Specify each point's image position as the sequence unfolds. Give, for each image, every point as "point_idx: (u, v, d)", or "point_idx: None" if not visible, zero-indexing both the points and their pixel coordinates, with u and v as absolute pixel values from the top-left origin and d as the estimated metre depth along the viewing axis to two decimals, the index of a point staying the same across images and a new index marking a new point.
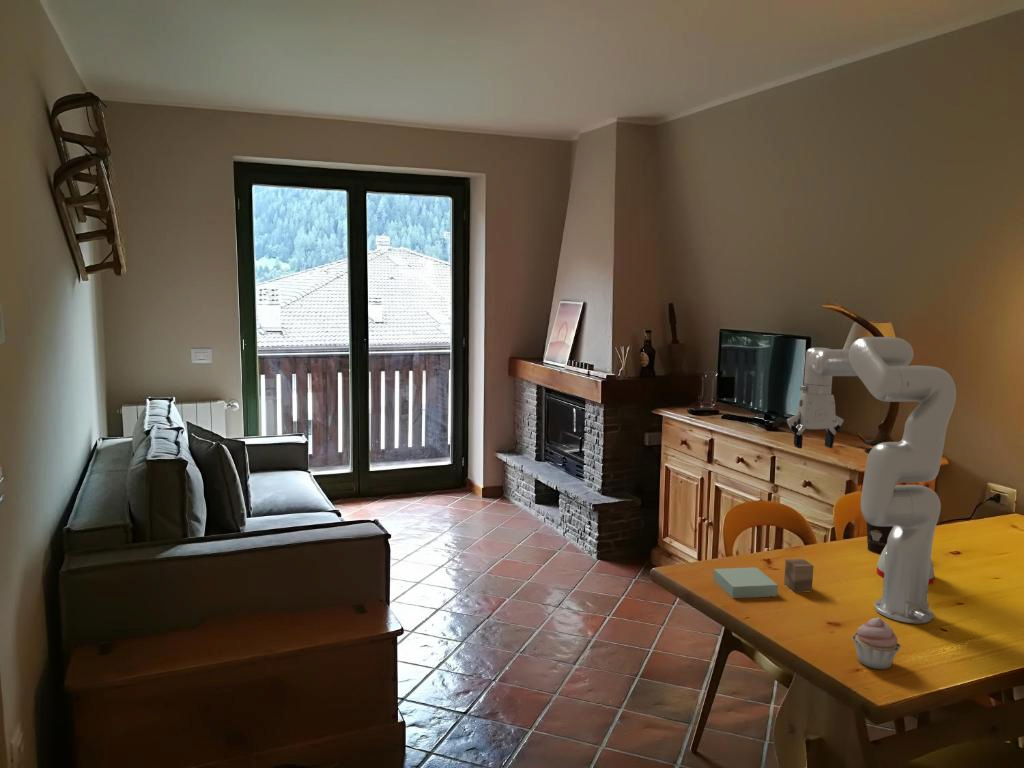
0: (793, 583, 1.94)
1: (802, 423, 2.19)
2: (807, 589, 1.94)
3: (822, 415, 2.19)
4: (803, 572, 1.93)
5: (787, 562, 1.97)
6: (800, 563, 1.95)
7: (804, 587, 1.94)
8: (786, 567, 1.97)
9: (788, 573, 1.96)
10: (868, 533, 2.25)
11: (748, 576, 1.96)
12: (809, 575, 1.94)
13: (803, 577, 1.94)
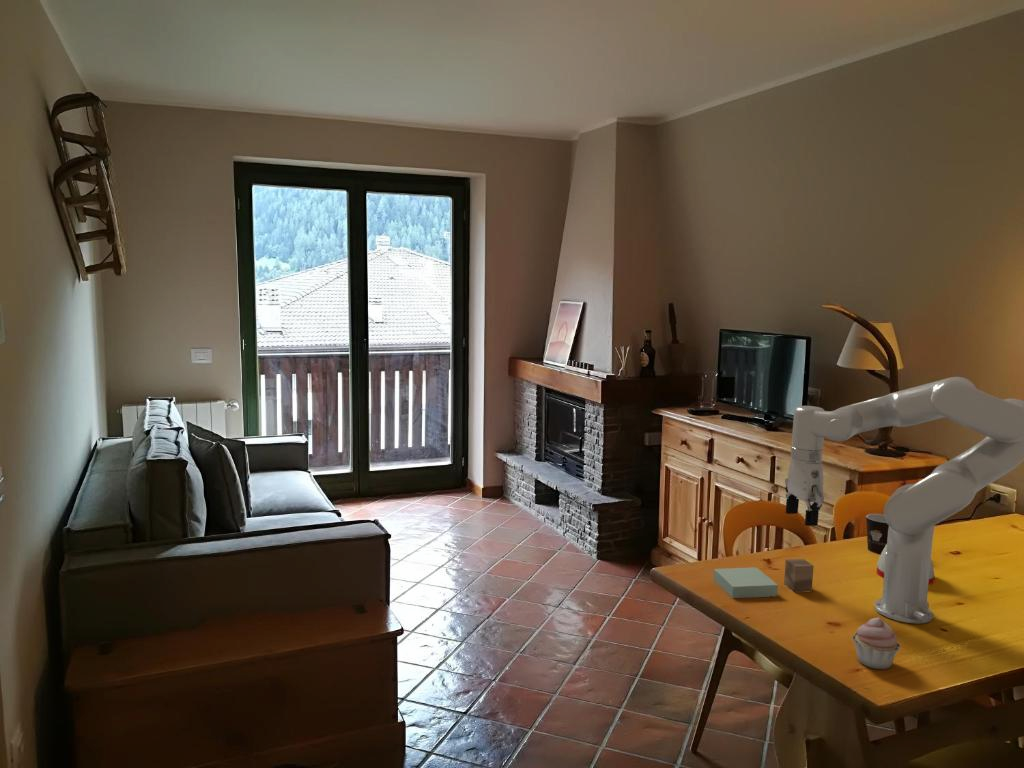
0: (793, 583, 1.94)
1: None
2: (807, 589, 1.94)
3: None
4: (803, 572, 1.93)
5: (787, 562, 1.97)
6: (800, 563, 1.95)
7: (804, 587, 1.94)
8: (786, 567, 1.97)
9: (788, 573, 1.96)
10: (868, 533, 2.25)
11: (748, 576, 1.96)
12: (809, 575, 1.94)
13: (803, 577, 1.94)
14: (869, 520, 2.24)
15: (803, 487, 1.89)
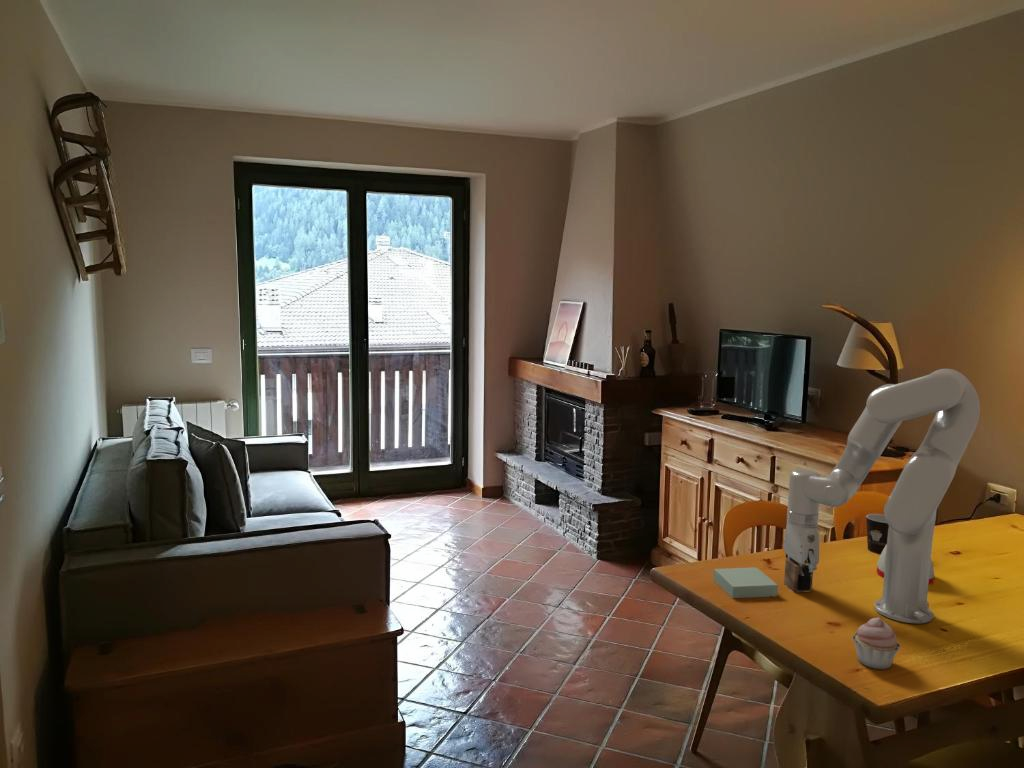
0: (793, 583, 1.94)
1: (816, 559, 1.91)
2: None
3: None
4: None
5: (787, 561, 1.97)
6: None
7: None
8: (786, 567, 1.97)
9: (788, 573, 1.96)
10: (868, 533, 2.25)
11: (748, 576, 1.96)
12: None
13: None
14: (869, 520, 2.24)
15: (799, 551, 1.91)
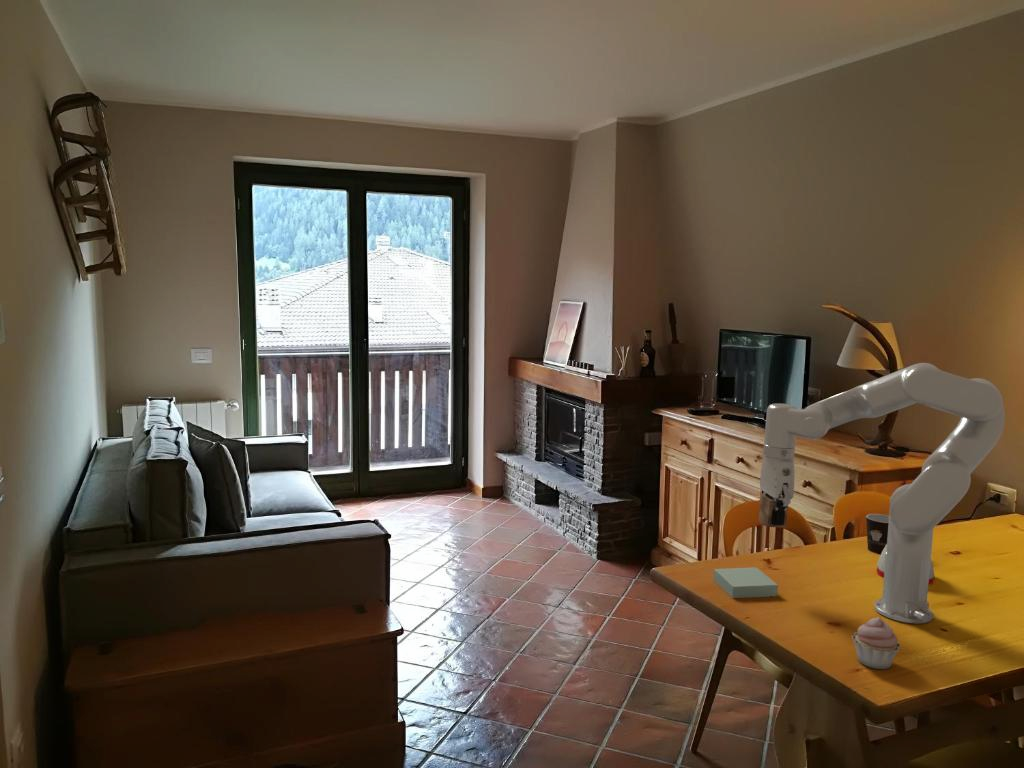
0: (767, 518, 1.92)
1: (791, 494, 1.88)
2: None
3: None
4: None
5: (762, 497, 1.95)
6: None
7: None
8: (761, 503, 1.95)
9: (763, 508, 1.94)
10: (868, 533, 2.25)
11: (748, 576, 1.96)
12: None
13: None
14: (869, 520, 2.24)
15: (774, 485, 1.89)
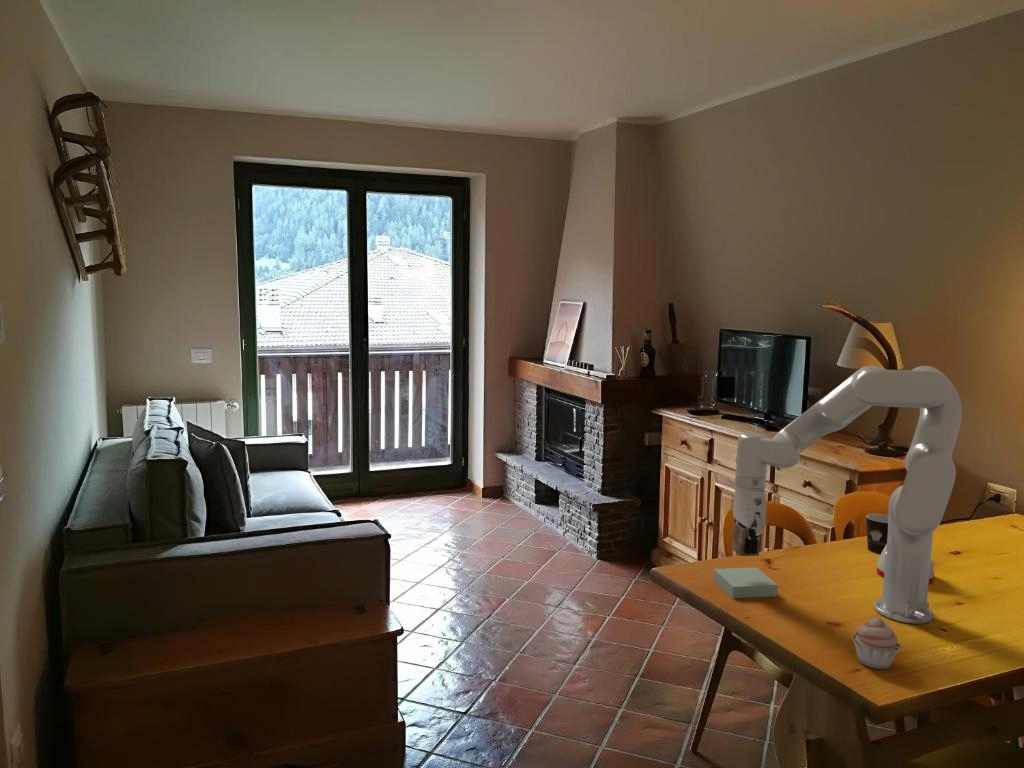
0: (740, 547, 1.92)
1: (763, 523, 1.89)
2: None
3: None
4: None
5: (735, 526, 1.95)
6: None
7: None
8: (734, 531, 1.96)
9: (736, 537, 1.95)
10: (868, 533, 2.25)
11: (748, 576, 1.96)
12: None
13: None
14: (869, 520, 2.24)
15: (746, 514, 1.90)
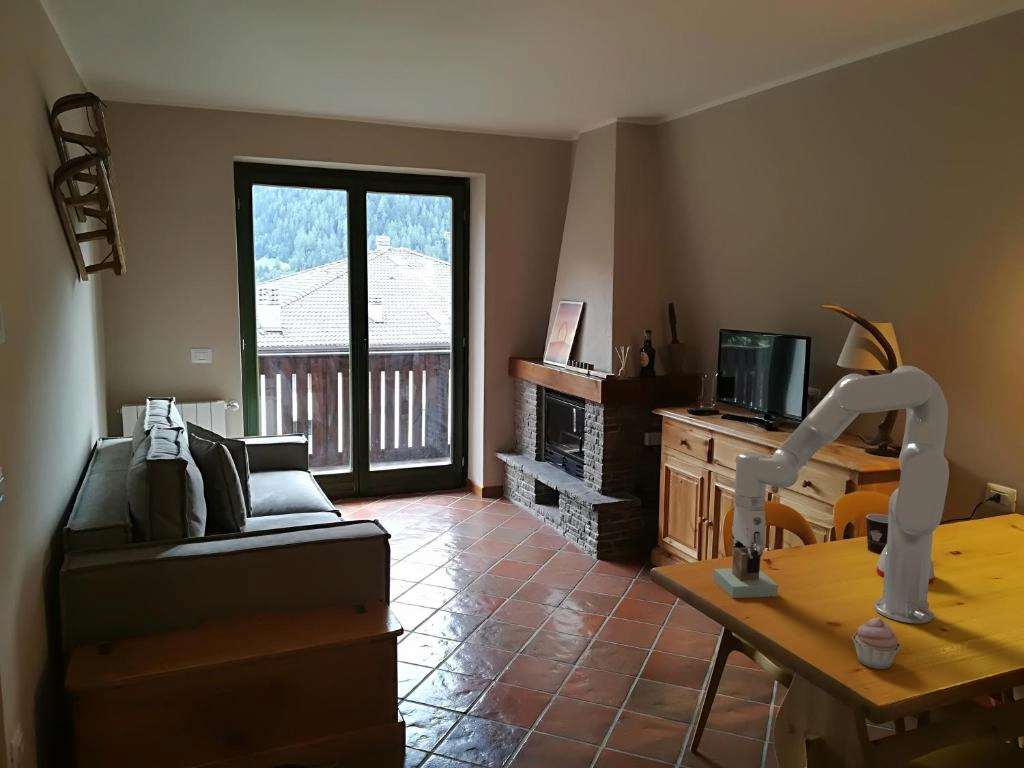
0: (740, 571, 1.93)
1: (762, 542, 1.90)
2: (754, 577, 1.93)
3: None
4: None
5: (735, 550, 1.96)
6: (747, 552, 1.94)
7: (751, 576, 1.93)
8: (734, 556, 1.97)
9: (735, 561, 1.96)
10: (868, 533, 2.25)
11: None
12: None
13: None
14: (869, 520, 2.24)
15: (746, 534, 1.90)
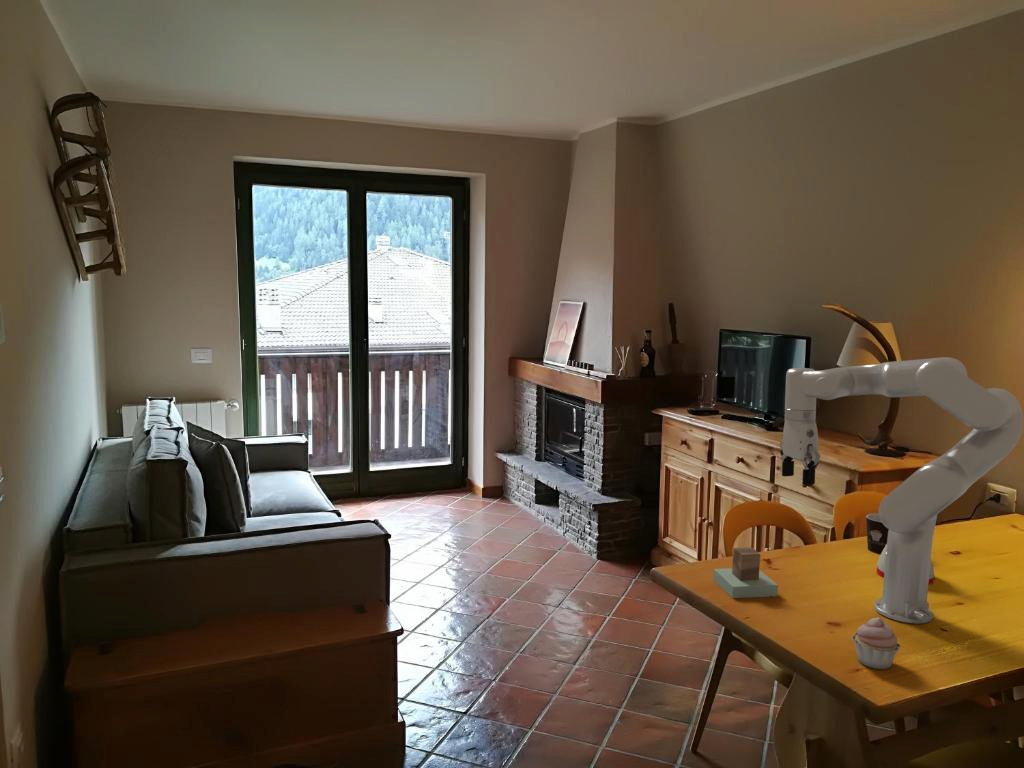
0: (740, 571, 1.93)
1: None
2: (754, 577, 1.93)
3: None
4: (750, 560, 1.93)
5: (735, 550, 1.96)
6: (747, 552, 1.94)
7: (751, 576, 1.93)
8: (734, 556, 1.97)
9: (735, 561, 1.96)
10: (868, 533, 2.25)
11: None
12: (755, 563, 1.93)
13: (750, 565, 1.93)
14: (869, 520, 2.24)
15: (799, 447, 1.93)
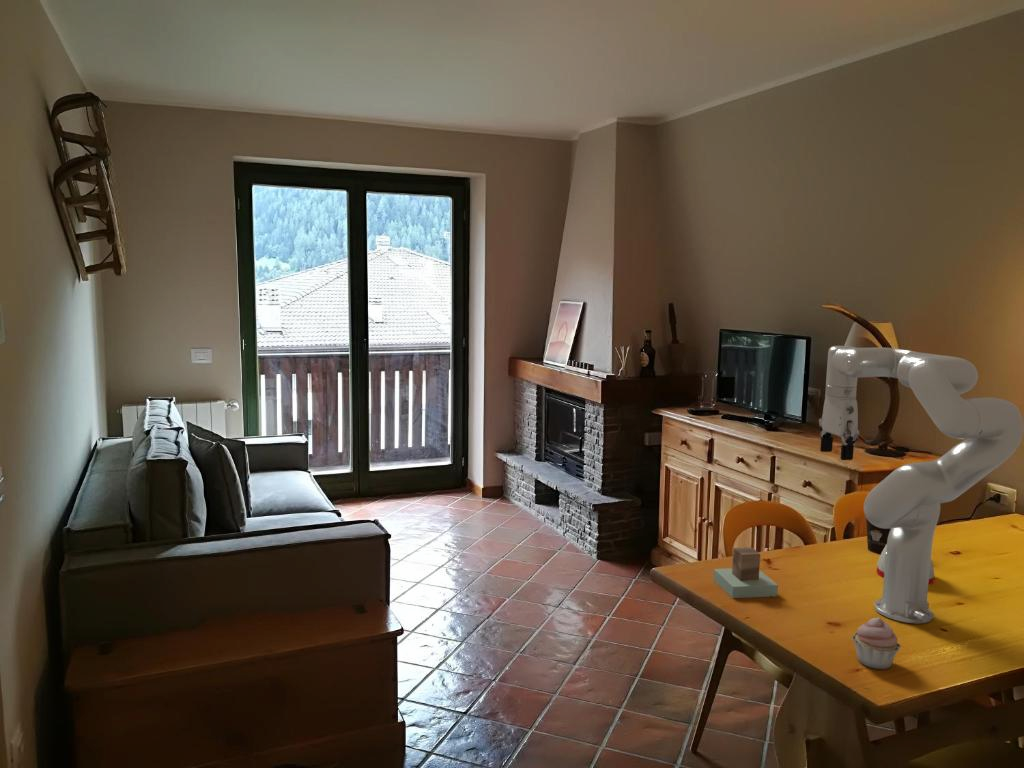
0: (740, 571, 1.93)
1: None
2: (754, 577, 1.93)
3: None
4: (750, 560, 1.93)
5: (735, 550, 1.96)
6: (747, 552, 1.94)
7: (751, 576, 1.93)
8: (734, 556, 1.97)
9: (735, 561, 1.96)
10: (868, 533, 2.25)
11: None
12: (755, 563, 1.93)
13: (750, 565, 1.93)
14: None
15: (838, 423, 1.97)
